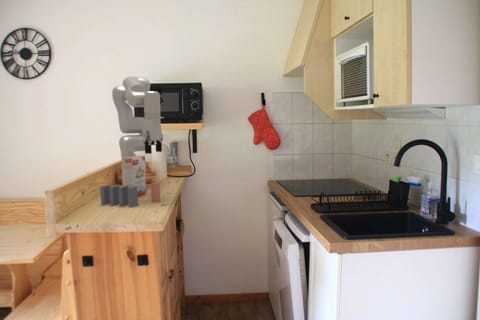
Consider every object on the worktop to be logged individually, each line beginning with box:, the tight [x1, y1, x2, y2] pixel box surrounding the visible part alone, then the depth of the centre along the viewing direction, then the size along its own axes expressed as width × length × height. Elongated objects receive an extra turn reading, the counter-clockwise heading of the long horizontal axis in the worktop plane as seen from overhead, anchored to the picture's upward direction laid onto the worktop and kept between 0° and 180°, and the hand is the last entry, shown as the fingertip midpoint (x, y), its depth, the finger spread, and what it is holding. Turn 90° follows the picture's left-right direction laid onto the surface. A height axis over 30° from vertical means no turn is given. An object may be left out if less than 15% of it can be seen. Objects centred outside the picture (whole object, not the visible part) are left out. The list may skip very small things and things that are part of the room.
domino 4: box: [127, 186, 139, 208], centre depth 170 cm, size 2×5×9 cm, turn 163°
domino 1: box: [99, 184, 111, 206], centre depth 175 cm, size 2×5×9 cm, turn 163°
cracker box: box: [123, 155, 147, 197], centre depth 195 cm, size 14×6×21 cm, turn 168°
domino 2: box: [109, 184, 120, 207], centre depth 173 cm, size 2×5×9 cm, turn 163°
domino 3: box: [118, 185, 128, 207], centre depth 172 cm, size 2×5×9 cm, turn 163°
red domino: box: [150, 181, 161, 203], centre depth 180 cm, size 2×5×9 cm, turn 163°
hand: (153, 152), depth 178 cm, fingers open, 9 cm apart
